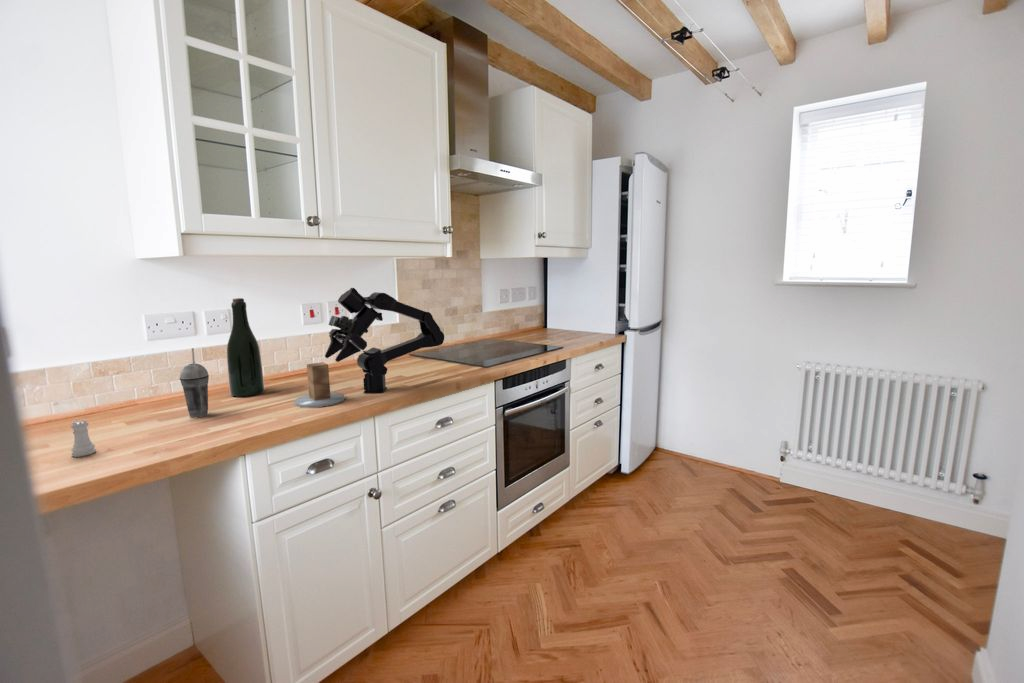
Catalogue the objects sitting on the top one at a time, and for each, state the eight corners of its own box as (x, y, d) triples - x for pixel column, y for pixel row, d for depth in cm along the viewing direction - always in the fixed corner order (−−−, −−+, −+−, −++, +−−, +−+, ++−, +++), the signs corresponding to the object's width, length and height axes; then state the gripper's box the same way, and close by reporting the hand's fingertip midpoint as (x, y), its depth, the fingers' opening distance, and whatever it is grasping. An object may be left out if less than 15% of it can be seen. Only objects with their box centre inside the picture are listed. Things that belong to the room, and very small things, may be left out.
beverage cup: (180, 420, 140) (171, 351, 137) (189, 413, 147) (181, 347, 144) (208, 417, 142) (201, 350, 139) (216, 410, 149) (209, 346, 146)
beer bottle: (238, 390, 174) (229, 297, 169) (269, 389, 175) (260, 297, 170) (224, 398, 164) (213, 299, 159) (257, 397, 165) (247, 298, 160)
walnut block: (324, 394, 162) (322, 362, 160) (330, 397, 158) (328, 364, 156) (309, 397, 158) (306, 364, 157) (314, 400, 155) (312, 366, 153)
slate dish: (351, 395, 165) (351, 391, 165) (333, 407, 150) (333, 404, 150) (308, 395, 166) (307, 391, 166) (285, 408, 151) (285, 404, 151)
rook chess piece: (84, 450, 118) (79, 418, 117) (101, 450, 118) (96, 418, 116) (66, 457, 114) (60, 424, 112) (83, 457, 113) (78, 424, 112)
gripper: (332, 305, 167) (302, 340, 162) (355, 308, 153) (322, 347, 148) (356, 326, 173) (327, 361, 168) (380, 330, 159) (349, 369, 154)
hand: (331, 359), depth 159 cm, fingers open, 9 cm apart
